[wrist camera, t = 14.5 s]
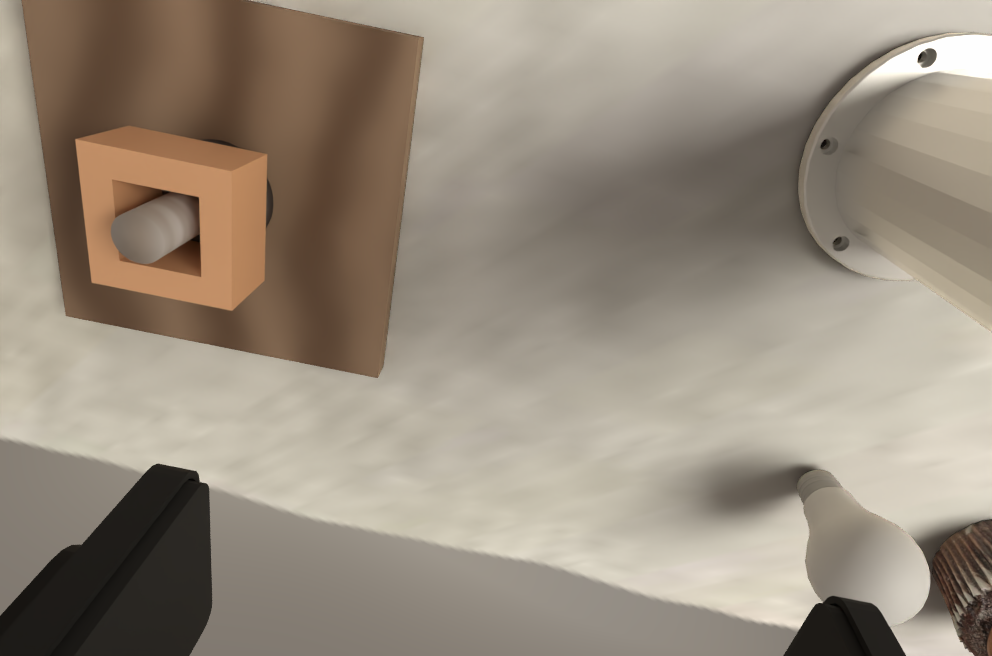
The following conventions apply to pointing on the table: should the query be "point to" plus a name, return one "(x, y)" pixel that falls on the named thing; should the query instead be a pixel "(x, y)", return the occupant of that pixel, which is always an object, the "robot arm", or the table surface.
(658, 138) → the table surface
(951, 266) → the robot arm
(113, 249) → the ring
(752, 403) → the table surface
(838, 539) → the lightbulb
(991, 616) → the cupcake
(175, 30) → the post stand
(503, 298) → the table surface
